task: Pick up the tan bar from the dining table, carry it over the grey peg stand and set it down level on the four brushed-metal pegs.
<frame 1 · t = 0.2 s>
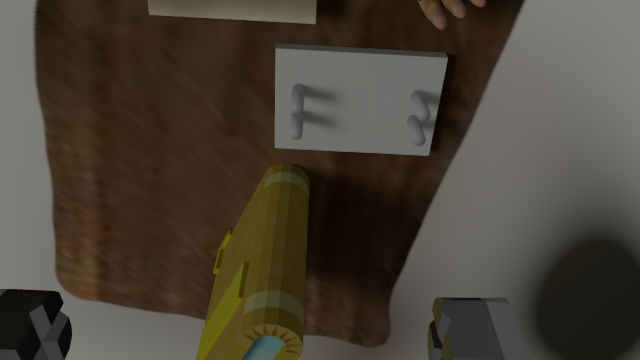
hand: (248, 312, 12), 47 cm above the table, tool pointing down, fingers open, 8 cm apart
peg stand: (356, 99, 61), on the table
book: (267, 213, 70), on the table
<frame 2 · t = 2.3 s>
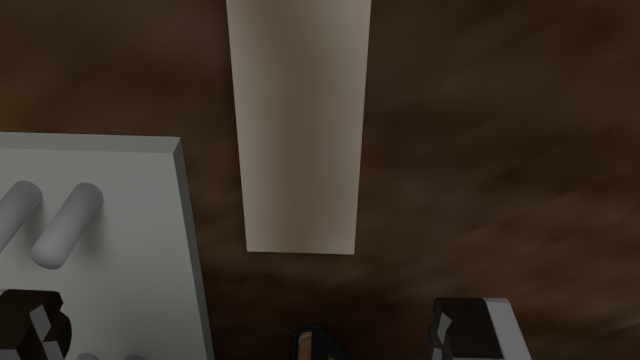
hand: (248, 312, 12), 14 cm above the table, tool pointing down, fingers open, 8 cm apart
peg stand: (98, 268, 31), on the table
tan bar: (304, 57, 24), on the table
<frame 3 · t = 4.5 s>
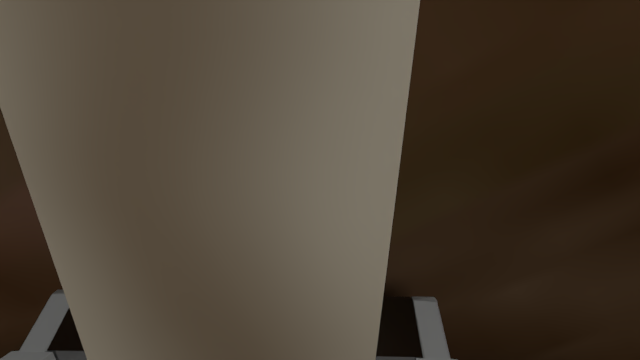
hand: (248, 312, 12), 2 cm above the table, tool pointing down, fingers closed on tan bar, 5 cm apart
tan bar: (257, 253, 13), on the table, touching gripper
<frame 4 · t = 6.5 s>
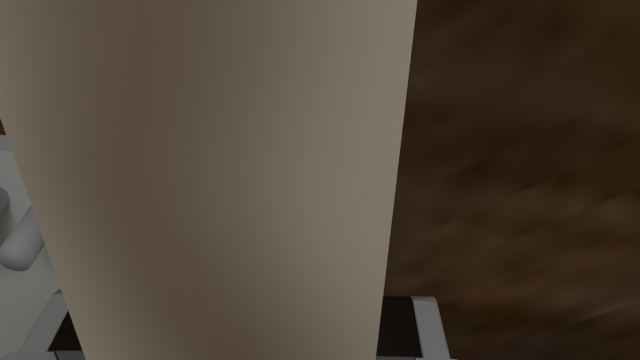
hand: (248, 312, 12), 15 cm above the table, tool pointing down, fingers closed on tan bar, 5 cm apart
peg stand: (69, 272, 31), on the table
tan bar: (257, 255, 13), point 13 cm above the table, touching gripper
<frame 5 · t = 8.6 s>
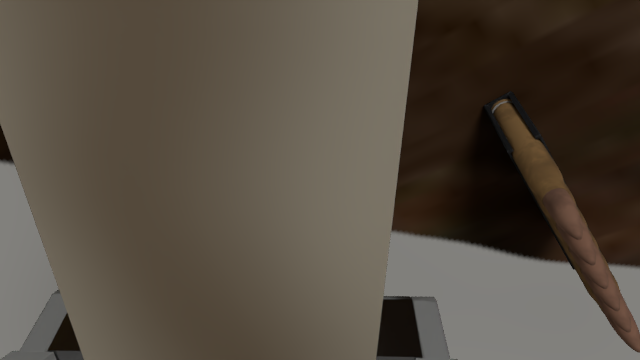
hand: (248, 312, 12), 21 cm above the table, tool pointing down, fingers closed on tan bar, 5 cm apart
ammunition clip: (529, 158, 35), on the table
tan bar: (257, 255, 13), point 20 cm above the table, touching gripper
when the fingers open (9 cm above the table, at t = 11.7 s): tan bar drops 1 cm, resting on peg stand.
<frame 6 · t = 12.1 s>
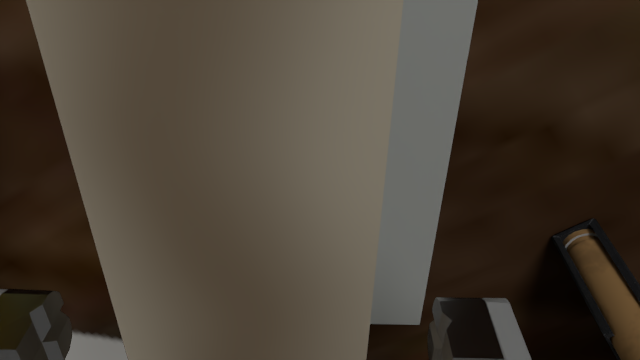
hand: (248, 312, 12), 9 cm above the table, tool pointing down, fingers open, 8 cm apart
ammunition clip: (609, 298, 25), on the table
peg stand: (277, 119, 19), on the table
tan bar: (263, 221, 14), point 6 cm above the table, touching peg stand
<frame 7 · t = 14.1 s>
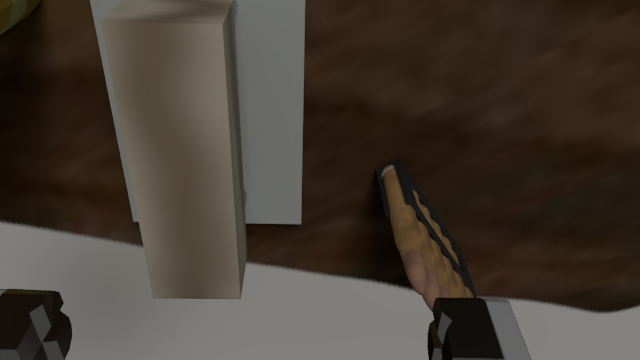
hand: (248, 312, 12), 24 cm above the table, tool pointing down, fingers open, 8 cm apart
ammunition clip: (420, 211, 41), on the table
peg stand: (211, 99, 35), on the table
tan bar: (196, 143, 30), point 6 cm above the table, touching peg stand
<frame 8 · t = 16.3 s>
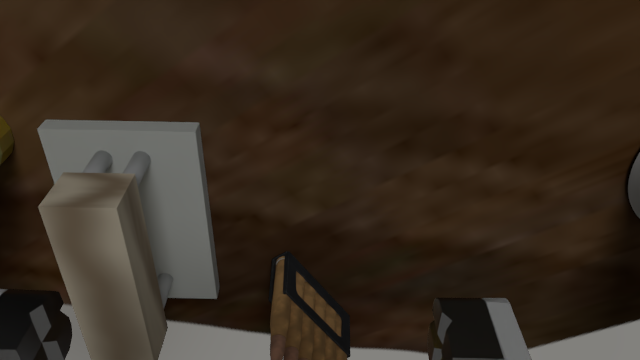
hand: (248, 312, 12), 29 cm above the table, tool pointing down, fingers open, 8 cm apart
ammunition clip: (312, 286, 52), on the table
peg stand: (142, 212, 47), on the table
tan bar: (121, 258, 42), point 6 cm above the table, touching peg stand
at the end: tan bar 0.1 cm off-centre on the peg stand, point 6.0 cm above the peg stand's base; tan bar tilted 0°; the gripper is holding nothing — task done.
